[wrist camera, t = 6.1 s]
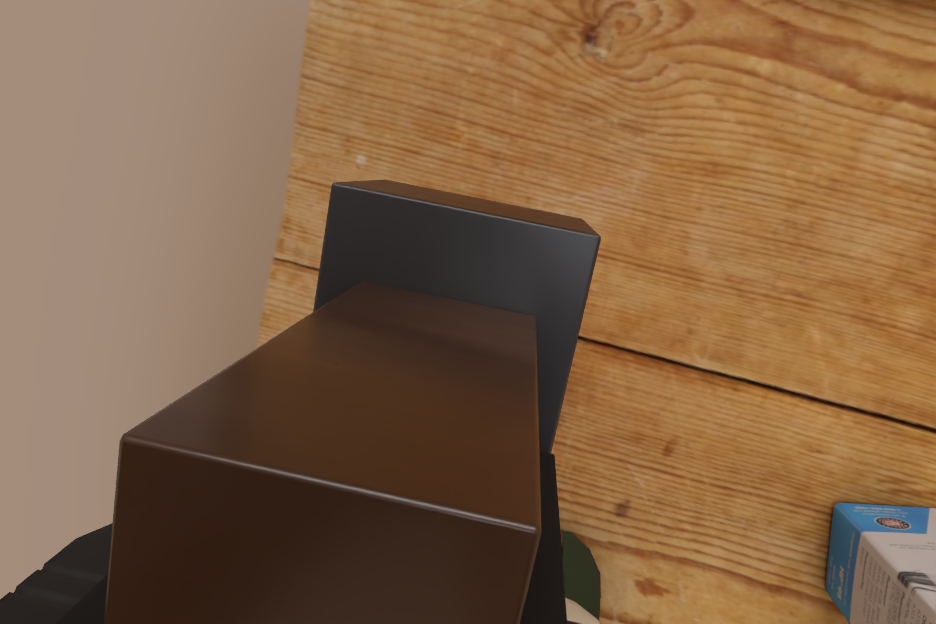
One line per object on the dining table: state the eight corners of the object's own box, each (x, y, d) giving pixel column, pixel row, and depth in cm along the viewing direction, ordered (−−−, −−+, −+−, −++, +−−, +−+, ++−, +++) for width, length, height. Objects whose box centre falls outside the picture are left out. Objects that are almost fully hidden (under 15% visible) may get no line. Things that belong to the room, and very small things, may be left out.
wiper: (318, 576, 17) (-29, 1234, 7) (382, 179, 15) (23, 198, 4) (494, 617, 17) (429, 1364, 6) (583, 218, 15) (713, 339, 4)
